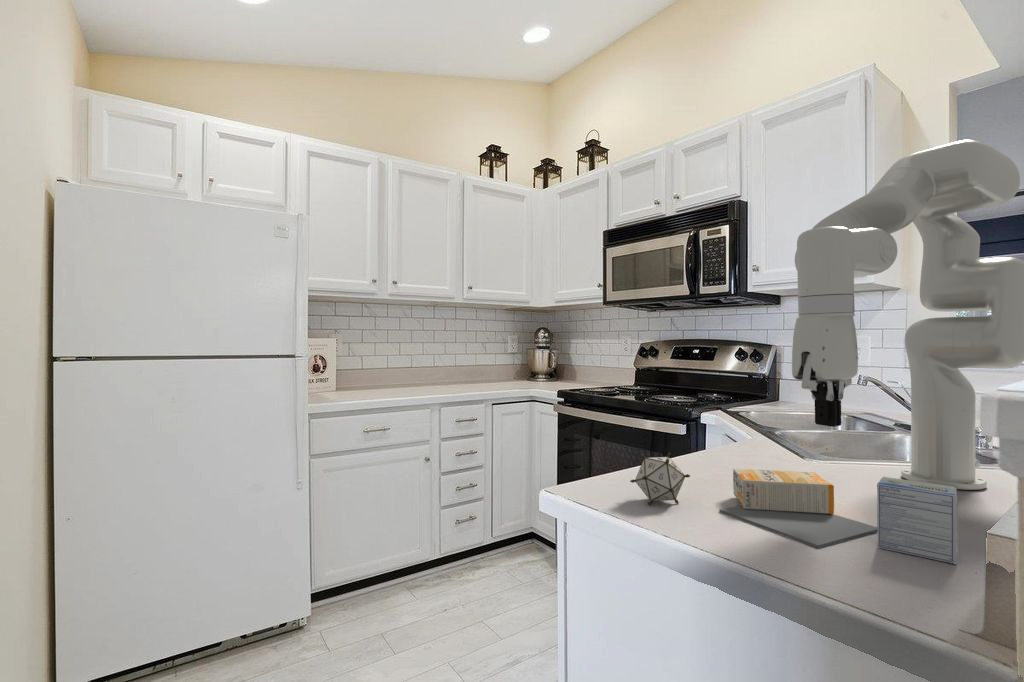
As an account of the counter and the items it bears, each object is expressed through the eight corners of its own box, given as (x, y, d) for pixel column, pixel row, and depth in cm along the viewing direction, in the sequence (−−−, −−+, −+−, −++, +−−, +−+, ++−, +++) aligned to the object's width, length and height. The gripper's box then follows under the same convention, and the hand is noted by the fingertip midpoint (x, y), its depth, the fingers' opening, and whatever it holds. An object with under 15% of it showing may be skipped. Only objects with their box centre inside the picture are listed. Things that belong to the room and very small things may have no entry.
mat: (778, 500, 87) (778, 497, 87) (880, 531, 73) (880, 528, 73) (719, 511, 81) (719, 509, 81) (818, 548, 67) (818, 545, 67)
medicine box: (957, 555, 65) (957, 486, 65) (956, 566, 62) (956, 494, 62) (881, 539, 70) (881, 475, 70) (876, 548, 67) (876, 482, 67)
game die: (647, 524, 86) (611, 473, 88) (674, 497, 91) (639, 450, 93) (683, 512, 79) (642, 457, 81) (710, 483, 84) (671, 432, 86)
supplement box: (835, 483, 78) (742, 479, 81) (835, 515, 78) (743, 510, 81) (815, 470, 86) (731, 467, 89) (815, 499, 86) (732, 495, 89)
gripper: (831, 309, 87) (833, 417, 87) (771, 309, 80) (774, 426, 81) (879, 306, 80) (881, 423, 81) (818, 306, 74) (821, 434, 74)
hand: (828, 424), depth 81 cm, fingers closed
